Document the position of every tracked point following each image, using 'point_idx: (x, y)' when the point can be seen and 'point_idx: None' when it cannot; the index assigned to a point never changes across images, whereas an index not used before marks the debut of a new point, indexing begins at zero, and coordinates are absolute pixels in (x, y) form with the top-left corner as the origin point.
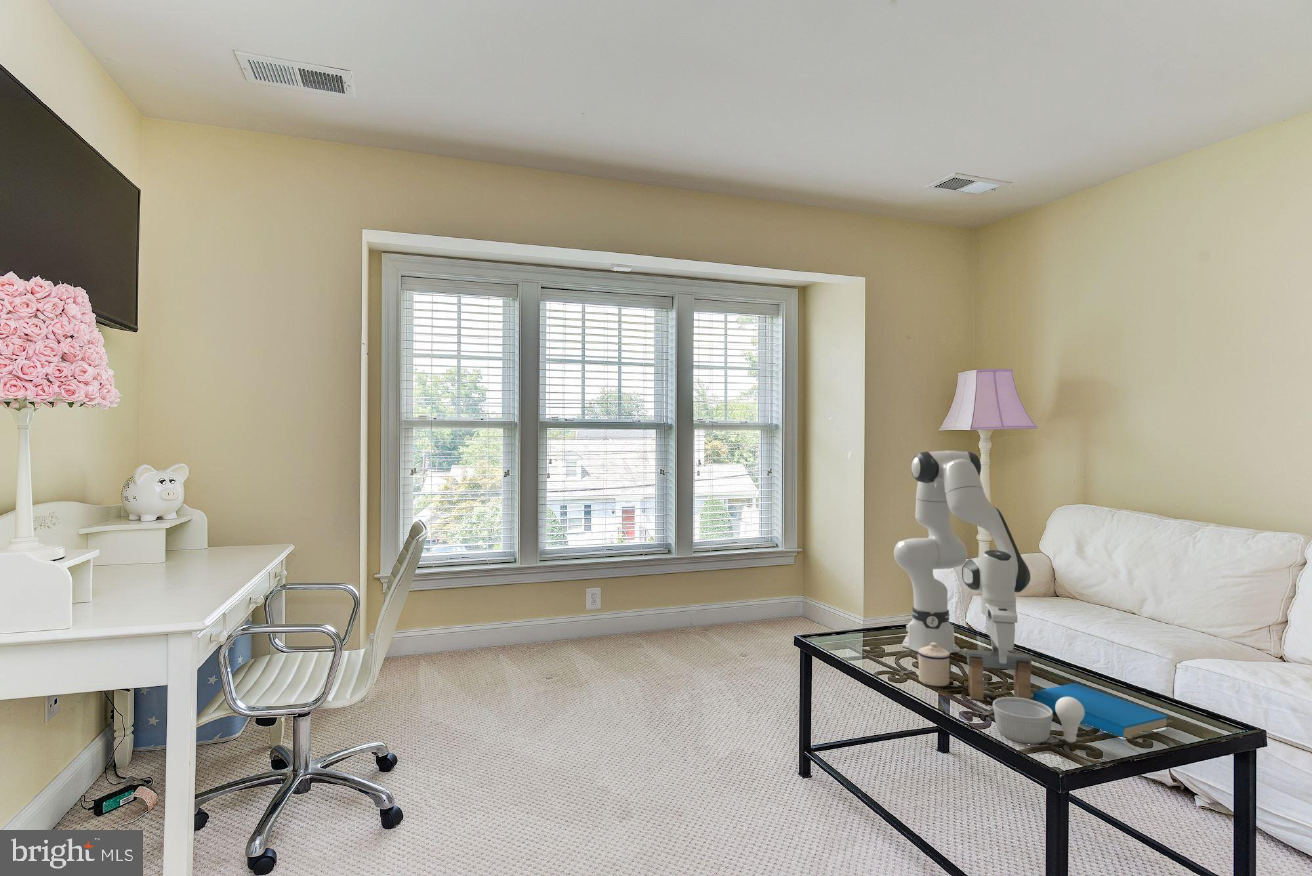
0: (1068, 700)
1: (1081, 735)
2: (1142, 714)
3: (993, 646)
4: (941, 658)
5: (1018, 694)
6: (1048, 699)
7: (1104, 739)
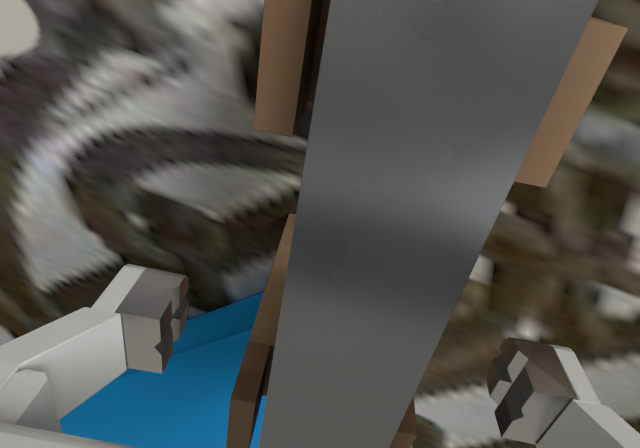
0: None
1: (11, 292)
2: None
3: (549, 402)
4: None
5: (282, 239)
6: (229, 331)
7: (13, 337)
